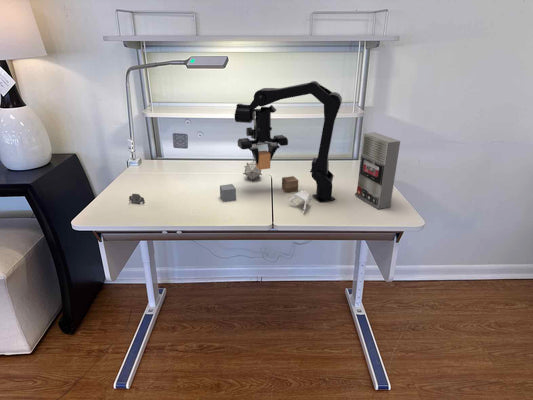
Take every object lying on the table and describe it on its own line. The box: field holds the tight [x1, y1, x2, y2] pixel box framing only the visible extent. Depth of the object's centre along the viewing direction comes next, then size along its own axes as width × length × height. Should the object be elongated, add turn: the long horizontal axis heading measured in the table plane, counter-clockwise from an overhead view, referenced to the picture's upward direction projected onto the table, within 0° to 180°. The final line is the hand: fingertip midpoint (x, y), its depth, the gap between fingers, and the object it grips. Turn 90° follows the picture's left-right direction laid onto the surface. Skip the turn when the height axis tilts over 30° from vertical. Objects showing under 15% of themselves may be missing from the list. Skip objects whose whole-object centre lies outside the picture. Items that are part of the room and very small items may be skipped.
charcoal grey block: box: [219, 183, 237, 203], centre depth 144 cm, size 5×5×5 cm
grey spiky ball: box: [242, 159, 263, 182], centre depth 163 cm, size 9×8×10 cm
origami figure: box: [288, 189, 313, 214], centre depth 137 cm, size 12×8×5 cm
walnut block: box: [281, 175, 299, 194], centre depth 152 cm, size 5×5×5 cm
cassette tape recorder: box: [354, 132, 401, 210], centre depth 138 cm, size 14×6×25 cm, turn 24°
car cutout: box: [128, 193, 146, 207], centre depth 138 cm, size 15×7×4 cm, turn 77°
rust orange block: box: [256, 150, 271, 171], centre depth 146 cm, size 4×4×6 cm
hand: (262, 163), depth 146 cm, fingers closed on rust orange block, 4 cm apart
